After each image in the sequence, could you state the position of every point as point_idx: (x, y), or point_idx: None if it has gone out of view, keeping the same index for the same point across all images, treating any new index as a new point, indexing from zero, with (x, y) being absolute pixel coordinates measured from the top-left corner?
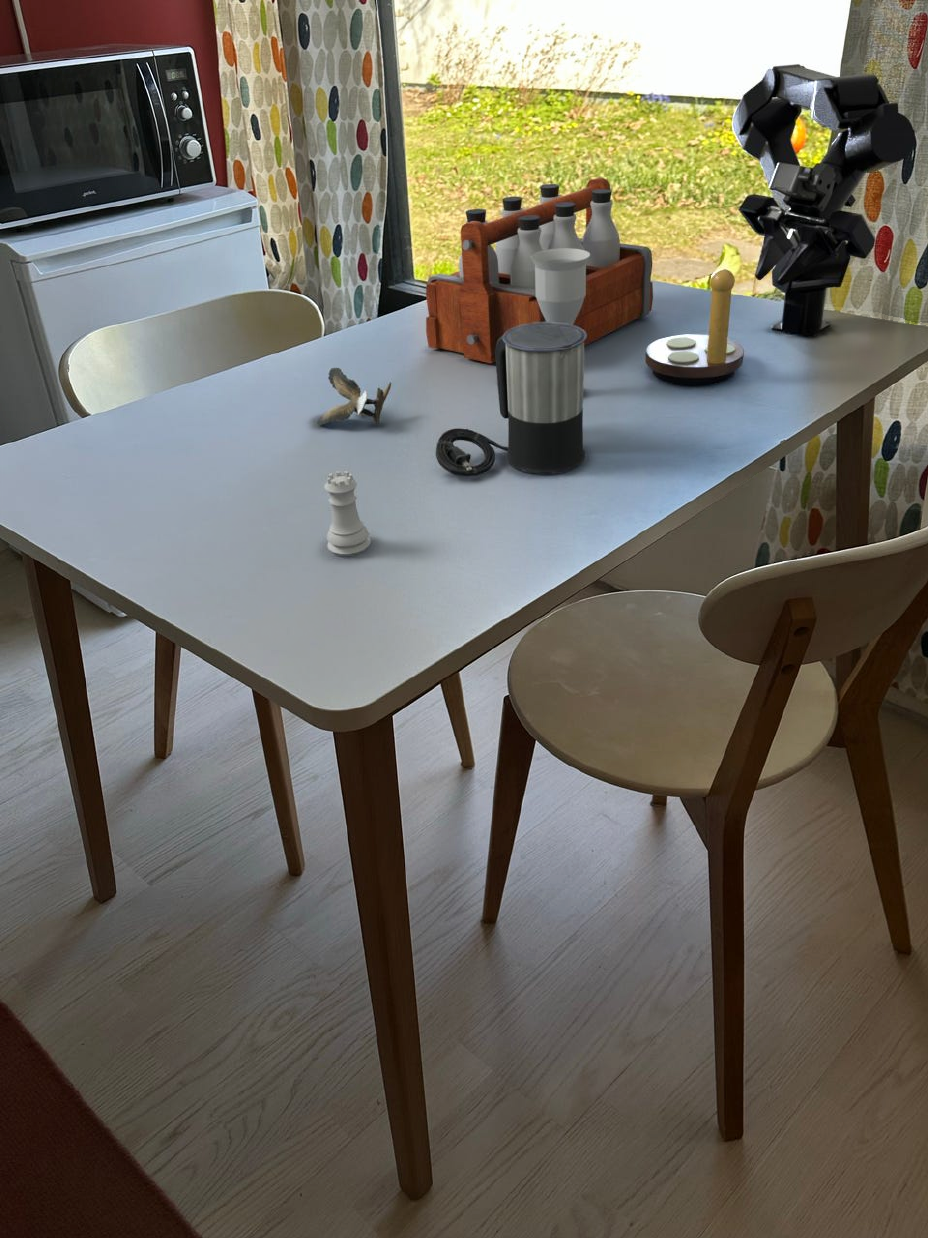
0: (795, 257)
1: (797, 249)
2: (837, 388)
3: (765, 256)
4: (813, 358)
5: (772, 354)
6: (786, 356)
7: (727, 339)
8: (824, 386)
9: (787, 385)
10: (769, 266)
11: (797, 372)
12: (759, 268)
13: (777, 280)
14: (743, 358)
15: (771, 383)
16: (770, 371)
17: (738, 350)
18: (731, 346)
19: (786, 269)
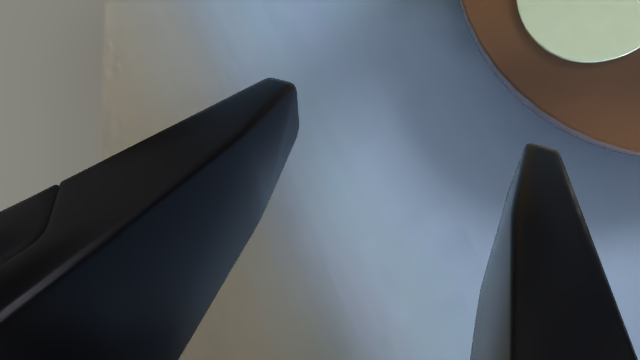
0: (62, 190)
1: (8, 264)
2: (152, 109)
3: (515, 292)
4: (324, 333)
5: (474, 308)
6: (416, 310)
7: (637, 142)
8: (188, 103)
9: (284, 43)
10: (481, 330)
11: (310, 174)
12: (531, 186)
13: (280, 81)
14: (480, 50)
15: (336, 27)
16: (394, 132)
17: (504, 30)
18: (554, 41)
19: (188, 126)
